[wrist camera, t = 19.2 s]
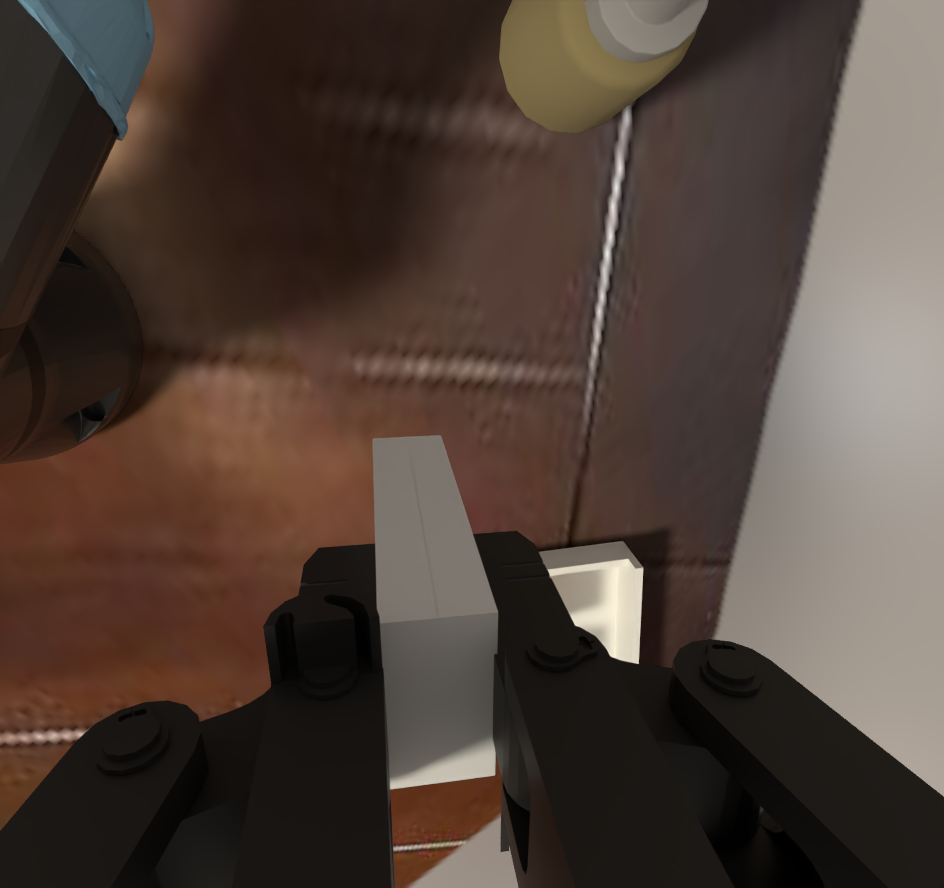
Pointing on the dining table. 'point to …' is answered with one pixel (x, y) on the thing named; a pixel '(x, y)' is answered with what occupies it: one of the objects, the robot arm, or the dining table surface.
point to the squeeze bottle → (591, 55)
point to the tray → (601, 593)
